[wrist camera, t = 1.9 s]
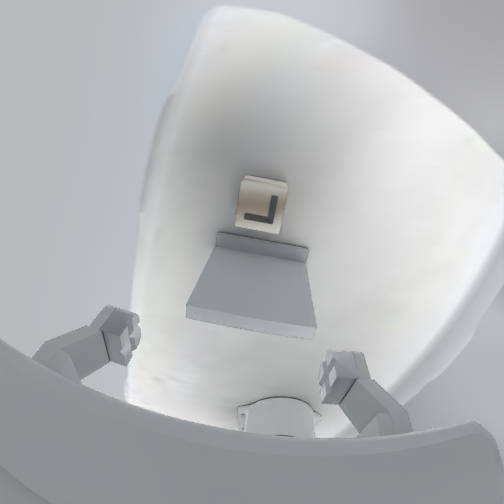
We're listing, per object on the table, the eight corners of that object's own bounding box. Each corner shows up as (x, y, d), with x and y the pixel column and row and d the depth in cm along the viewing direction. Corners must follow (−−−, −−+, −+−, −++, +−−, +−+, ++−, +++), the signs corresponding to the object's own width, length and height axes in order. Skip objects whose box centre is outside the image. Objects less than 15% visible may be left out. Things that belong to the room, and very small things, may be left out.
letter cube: (279, 220, 35) (279, 234, 30) (239, 213, 35) (233, 226, 30) (286, 182, 33) (288, 190, 28) (245, 174, 33) (239, 182, 28)
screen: (299, 280, 38) (306, 352, 25) (214, 265, 38) (185, 330, 26) (308, 248, 36) (322, 313, 23) (218, 232, 36) (186, 288, 23)
